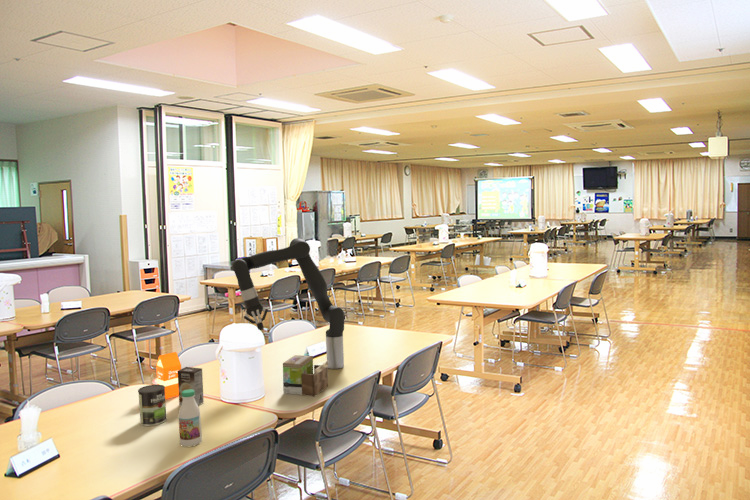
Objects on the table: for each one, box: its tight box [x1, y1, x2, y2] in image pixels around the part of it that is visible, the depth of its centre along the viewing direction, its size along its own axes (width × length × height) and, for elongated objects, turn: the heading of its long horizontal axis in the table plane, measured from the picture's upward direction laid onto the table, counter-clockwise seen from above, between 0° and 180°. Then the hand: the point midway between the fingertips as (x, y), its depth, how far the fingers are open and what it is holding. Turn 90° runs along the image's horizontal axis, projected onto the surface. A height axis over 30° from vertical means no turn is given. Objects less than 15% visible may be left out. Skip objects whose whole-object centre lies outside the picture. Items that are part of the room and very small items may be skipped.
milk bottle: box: [178, 389, 203, 447], centre depth 202 cm, size 8×8×20 cm
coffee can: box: [137, 384, 167, 427], centre depth 225 cm, size 10×10×14 cm
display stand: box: [301, 360, 329, 397], centre depth 257 cm, size 15×7×12 cm, turn 162°
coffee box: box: [178, 366, 205, 406], centre depth 244 cm, size 9×6×16 cm
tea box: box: [282, 354, 314, 395], centre depth 260 cm, size 15×10×15 cm, turn 166°
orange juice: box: [155, 351, 182, 400], centre depth 257 cm, size 8×9×20 cm
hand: (261, 329), depth 272 cm, fingers closed
